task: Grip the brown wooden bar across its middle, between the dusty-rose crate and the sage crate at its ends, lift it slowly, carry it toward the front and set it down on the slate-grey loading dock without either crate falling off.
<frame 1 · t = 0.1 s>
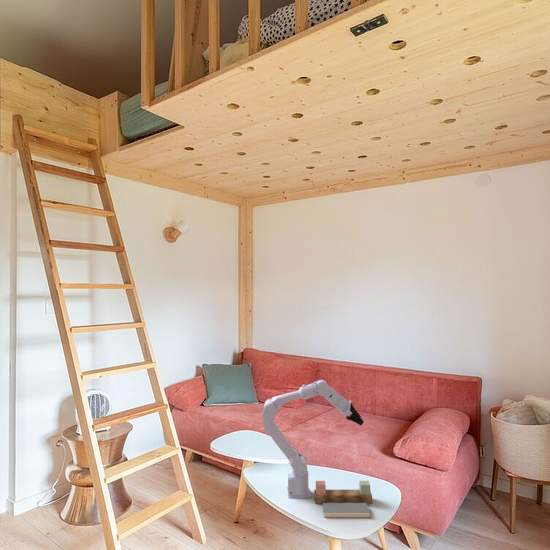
hand: (360, 420, 180), 32 cm above the table, tool tilted 50°, fingers open, 7 cm apart
crate rose: (320, 492, 173), point 4 cm above the table, touching brown wooden bar
brown wooden bar: (342, 501, 172), on the table, touching crate rose, crate sage
dock: (345, 512, 163), on the table
crate sage: (364, 492, 172), point 4 cm above the table, touching brown wooden bar
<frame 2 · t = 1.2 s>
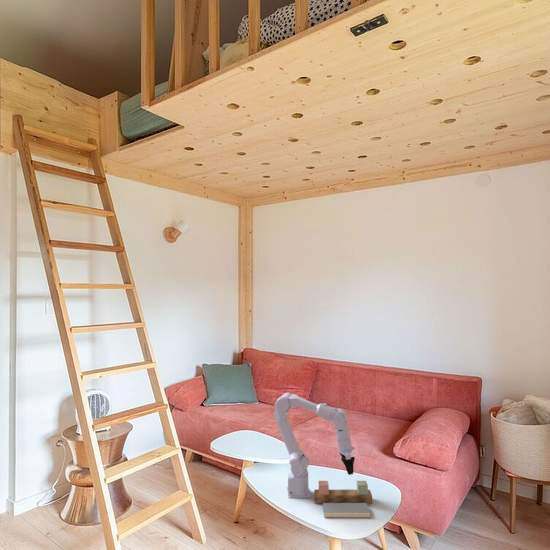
hand: (349, 470, 173), 13 cm above the table, tool pointing down, fingers open, 7 cm apart
crate rose: (323, 492, 173), point 4 cm above the table
brown wooden bar: (342, 501, 172), on the table, touching crate sage
crate sage: (362, 492, 172), point 4 cm above the table, touching brown wooden bar
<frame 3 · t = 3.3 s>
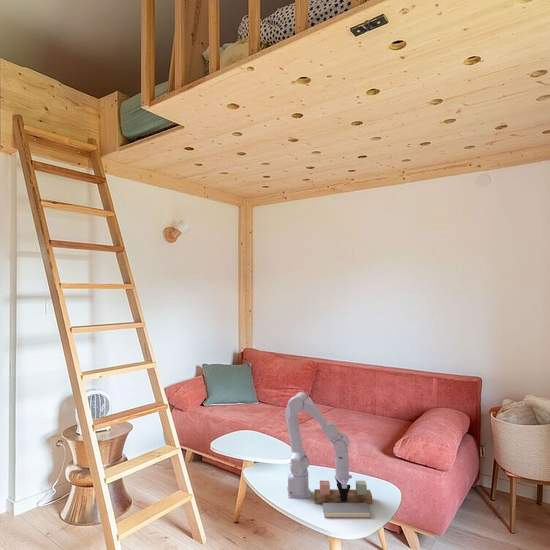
hand: (342, 497, 172), 1 cm above the table, tool pointing down, fingers closed on brown wooden bar, 5 cm apart
crate rose: (324, 492, 173), point 4 cm above the table, touching brown wooden bar
brown wooden bar: (343, 501, 172), on the table, touching crate rose, crate sage, gripper
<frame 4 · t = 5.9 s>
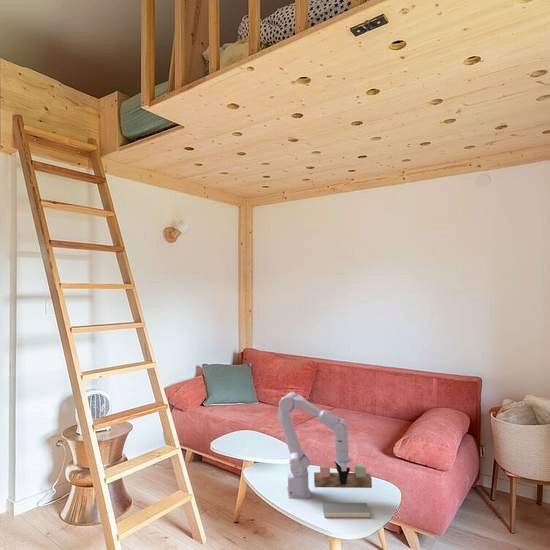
hand: (342, 481, 172), 8 cm above the table, tool pointing down, fingers closed on brown wooden bar, 5 cm apart
crate rose: (325, 475, 173), point 11 cm above the table, touching brown wooden bar
brown wooden bar: (342, 484, 172), point 7 cm above the table, touching crate rose, crate sage, gripper
crate sage: (360, 475, 172), point 11 cm above the table, touching brown wooden bar
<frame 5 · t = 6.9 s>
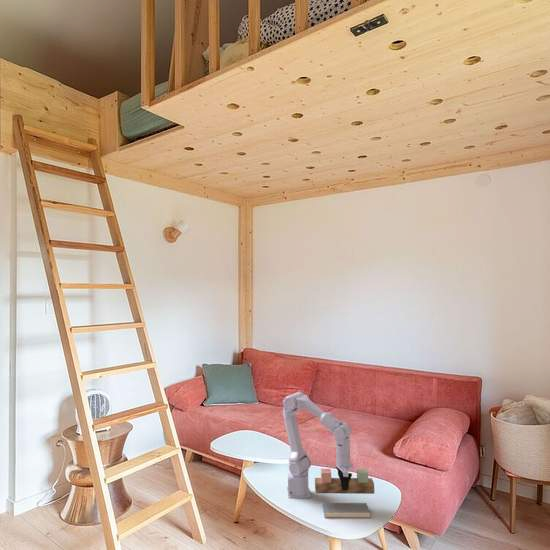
hand: (344, 486, 167), 8 cm above the table, tool pointing down, fingers closed on brown wooden bar, 5 cm apart
crate rose: (326, 480, 168), point 11 cm above the table, touching brown wooden bar
brown wooden bar: (344, 490, 167), point 7 cm above the table, touching crate rose, crate sage, gripper
crate sage: (362, 480, 167), point 11 cm above the table, touching brown wooden bar
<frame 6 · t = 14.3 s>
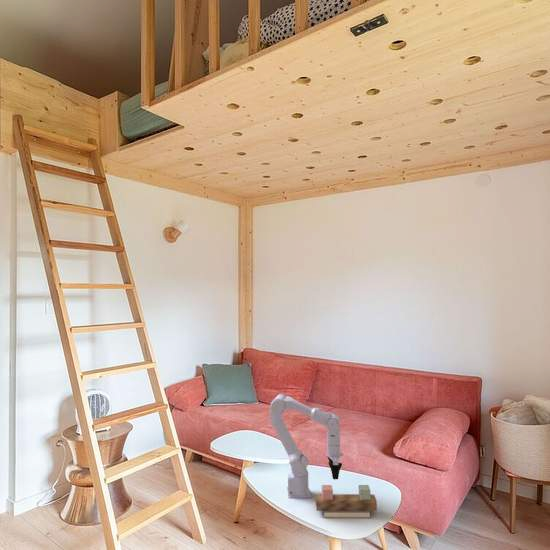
hand: (334, 475, 176), 9 cm above the table, tool pointing down, fingers open, 7 cm apart
crate rose: (327, 497, 164), point 6 cm above the table, touching brown wooden bar
brown wooden bar: (345, 507, 163), point 2 cm above the table, touching crate rose, crate sage, dock
crate sage: (364, 497, 163), point 6 cm above the table, touching brown wooden bar
at the end: brown wooden bar 0.1 cm off-centre on the dock, point 2.0 cm above the dock's base; crate rose inside the target area on the brown wooden bar (7.4 cm from its centre), point 4.0 cm above the brown wooden bar's base; crate sage inside the target area on the brown wooden bar (7.7 cm from its centre), point 4.0 cm above the brown wooden bar's base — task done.
